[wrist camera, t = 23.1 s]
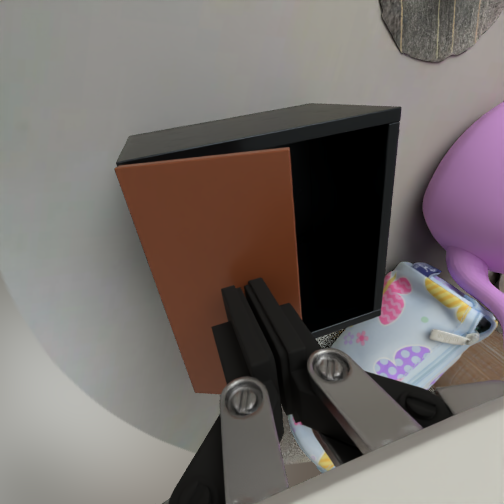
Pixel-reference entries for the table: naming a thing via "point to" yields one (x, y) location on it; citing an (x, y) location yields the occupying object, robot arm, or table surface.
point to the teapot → (472, 209)
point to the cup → (500, 283)
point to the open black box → (314, 194)
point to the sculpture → (438, 25)
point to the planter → (477, 363)
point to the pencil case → (408, 337)
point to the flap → (214, 241)
